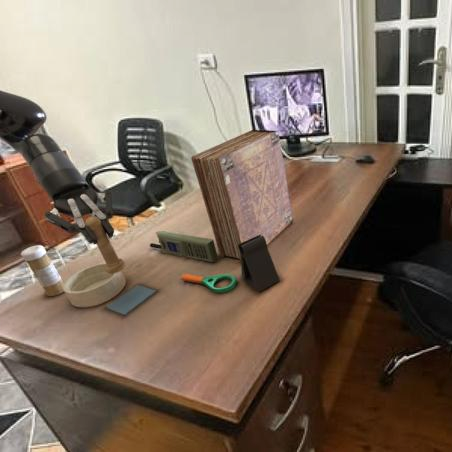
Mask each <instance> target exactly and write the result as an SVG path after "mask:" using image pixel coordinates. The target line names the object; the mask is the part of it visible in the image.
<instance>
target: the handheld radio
mask: <svg viewBox="0 0 452 452" xmlns="http://www.w3.org/2000/svg"><path fill="white" fill-rule="evenodd" d="M155 234H156V237H157V238H158V243H159V244H158V243H155V242H154V243H153V242H151V243H150V244H149V247H150V248H153V249H157V250H162V251H161V252H162V253H163V254H169V255H174V256H177V257H178V256H179V257H184V258H188V259H189V258H190V259H194V260H199V261H204V262H209V263H216V262H217V261H218V260H219V255H218V253H217V249H216V244H215V241H214V239H213V238H208V237H202V236H197V235H196V236H195V235H189V234H182V233H176V232H171V231H166V230H164V231H163V230H159V231H155Z"/></svg>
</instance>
